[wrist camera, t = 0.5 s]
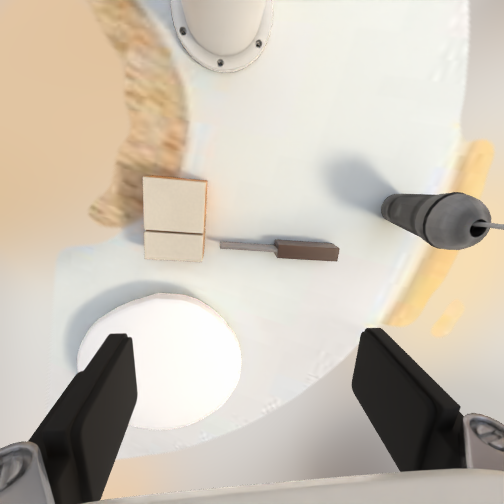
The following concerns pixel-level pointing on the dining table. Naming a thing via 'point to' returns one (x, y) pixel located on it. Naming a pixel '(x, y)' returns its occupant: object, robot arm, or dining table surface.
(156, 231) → the cake slice
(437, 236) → the beverage cup
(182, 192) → the cake
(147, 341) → the white round disc
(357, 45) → the dining table surface
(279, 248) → the knife
